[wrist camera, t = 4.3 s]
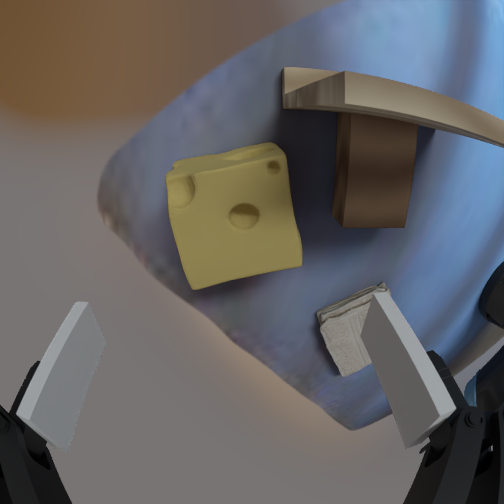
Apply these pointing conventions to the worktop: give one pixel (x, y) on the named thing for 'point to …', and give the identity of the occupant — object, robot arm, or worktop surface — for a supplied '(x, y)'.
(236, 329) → the worktop surface
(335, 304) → the washcloth
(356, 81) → the wall board
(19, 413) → the robot arm
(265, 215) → the cheese
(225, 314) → the worktop surface
